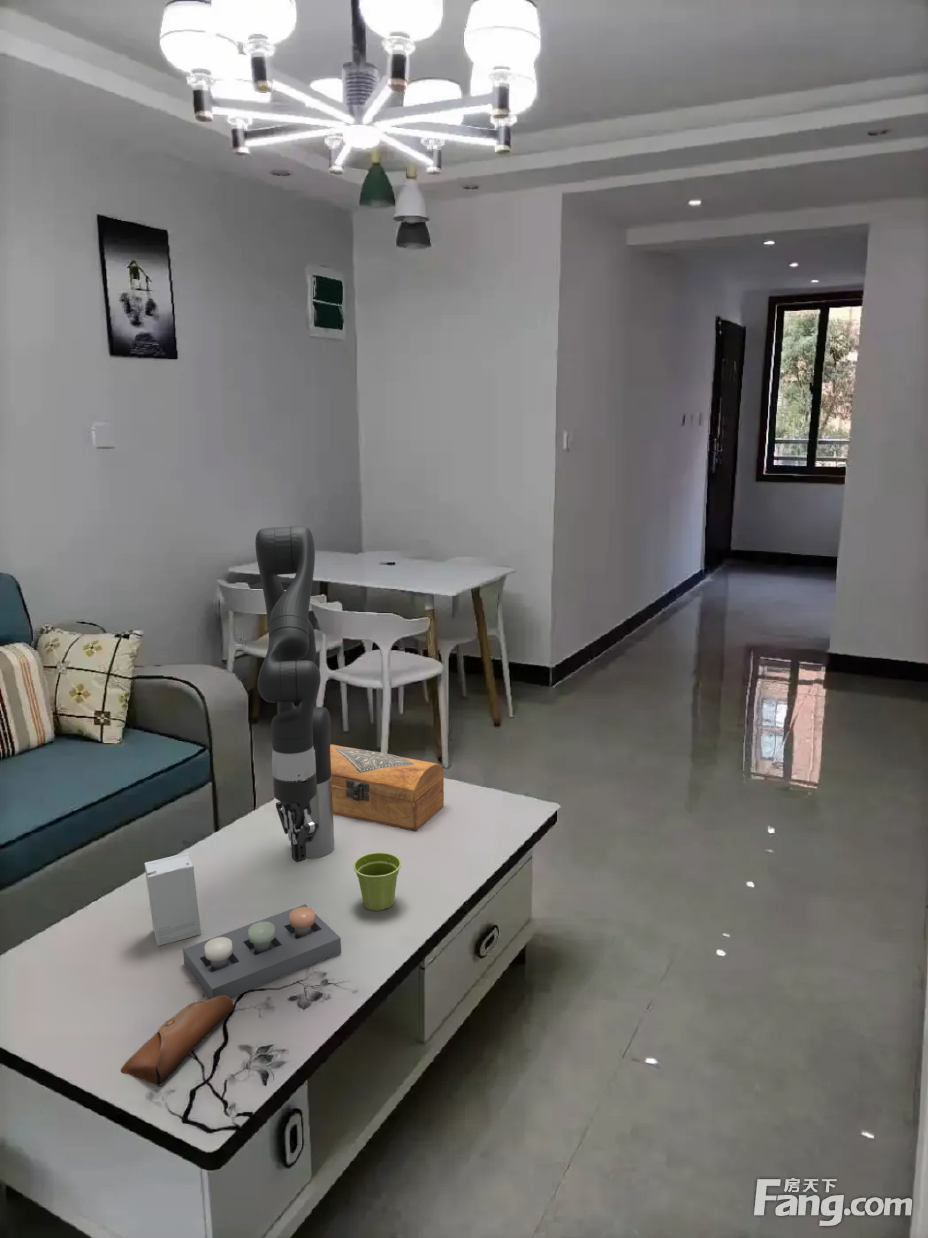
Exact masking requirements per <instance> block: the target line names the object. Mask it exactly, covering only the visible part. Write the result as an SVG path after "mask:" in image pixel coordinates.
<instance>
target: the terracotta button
mask: <svg viewBox="0 0 928 1238" xmlns="http://www.w3.org/2000/svg"><path fill="white" fill-rule="evenodd" d="M298 907H299V906H298ZM295 908H296V907H295ZM315 914H316V911H315V910H314V909H313V908H312V907H309V906H308V907H299V908H296V909H294V910H292V911H291V912H290V915H289V916H290V925H291V926H292V927H294V928H295V937H296V938H297V939H299V938H301V937H304V936H306V935H309V934H312V933H311V926H312V925H313V924H314V923H315Z"/></svg>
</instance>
